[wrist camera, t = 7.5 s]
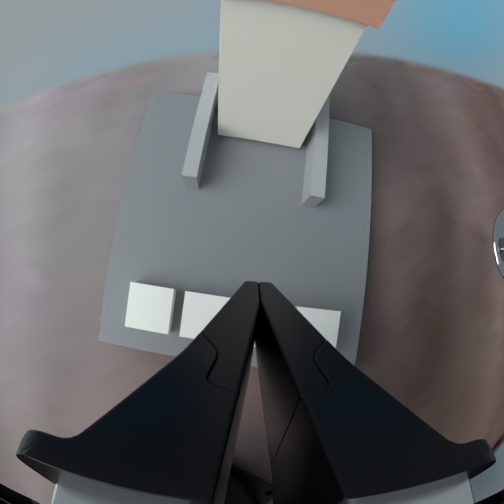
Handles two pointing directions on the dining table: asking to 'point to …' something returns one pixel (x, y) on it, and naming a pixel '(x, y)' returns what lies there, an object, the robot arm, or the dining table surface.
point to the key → (285, 62)
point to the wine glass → (499, 241)
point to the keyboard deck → (236, 226)
